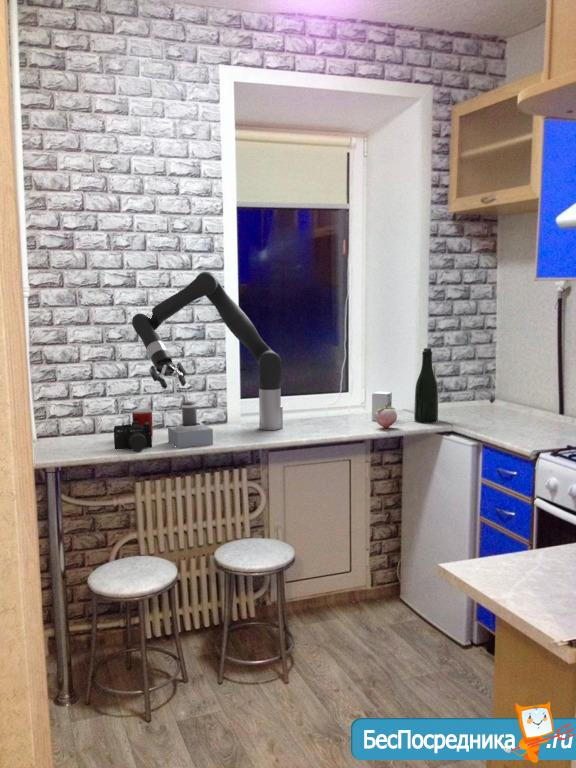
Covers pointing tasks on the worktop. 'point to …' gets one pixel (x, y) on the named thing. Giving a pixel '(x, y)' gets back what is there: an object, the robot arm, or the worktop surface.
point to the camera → (133, 436)
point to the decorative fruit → (386, 416)
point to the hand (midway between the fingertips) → (175, 386)
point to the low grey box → (190, 435)
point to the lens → (189, 413)
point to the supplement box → (380, 402)
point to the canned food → (142, 416)
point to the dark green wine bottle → (426, 391)
